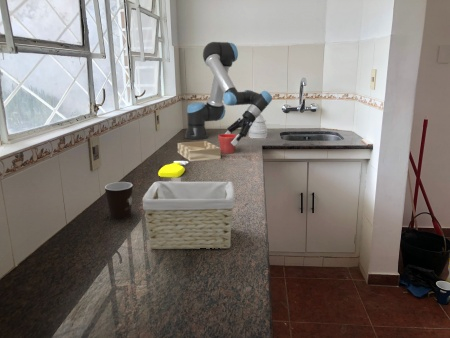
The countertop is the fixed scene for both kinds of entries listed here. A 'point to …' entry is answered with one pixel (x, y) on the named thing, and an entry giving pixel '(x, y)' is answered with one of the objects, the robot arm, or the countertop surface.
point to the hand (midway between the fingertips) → (227, 142)
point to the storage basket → (189, 214)
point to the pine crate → (199, 151)
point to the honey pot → (258, 128)
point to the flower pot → (226, 143)
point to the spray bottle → (172, 169)
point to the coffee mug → (119, 199)
